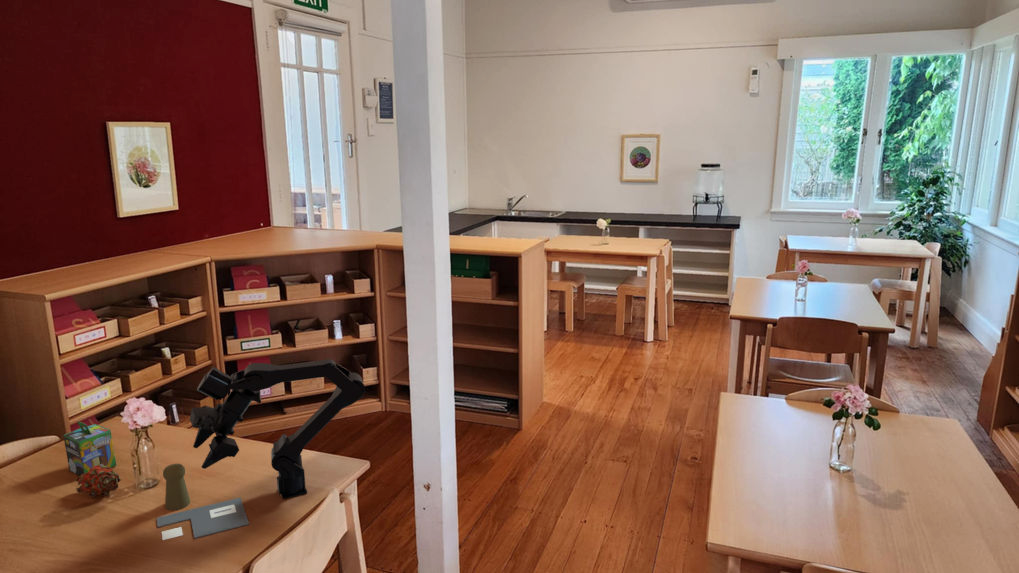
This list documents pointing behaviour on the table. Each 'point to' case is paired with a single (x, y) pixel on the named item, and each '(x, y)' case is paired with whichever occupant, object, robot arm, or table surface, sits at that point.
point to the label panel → (207, 519)
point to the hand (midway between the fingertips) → (199, 457)
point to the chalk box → (89, 448)
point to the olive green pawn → (175, 487)
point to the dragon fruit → (98, 481)
